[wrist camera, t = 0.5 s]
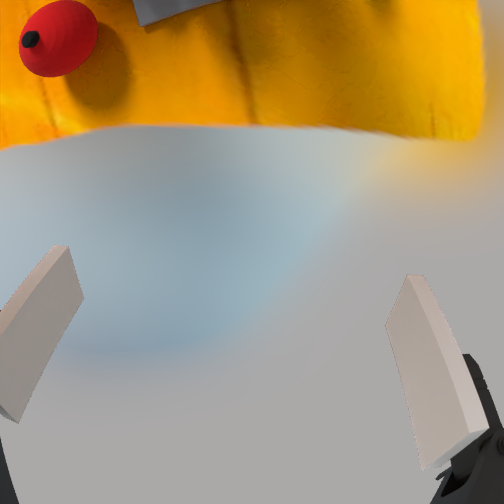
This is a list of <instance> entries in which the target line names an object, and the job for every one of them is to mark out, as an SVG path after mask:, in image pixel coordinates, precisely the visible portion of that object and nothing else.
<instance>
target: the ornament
mask: <svg viewBox="0 0 504 504" xmlns="http://www.w3.org/2000/svg"><path fill="white" fill-rule="evenodd" d="M97 35H98V27H97V21H96V18H95V16H94V14H93V13H92V11H91V10H90V9H89V8H88V7H87V6H86V5H84V4H82V3H80V2H77V1H73V0H59V1H56V2H53V3H50V4H47V5H45V6H44V7H42V8H41V9H39V10H38V11H37V12H35V13H34V14H33V15H32V16H31V17H30V19H29V20H28V22H27V23H26V25H25V26H24V28H23V30H22V32H21V35H20V40H19V53H20V57H21V60H22V62H23V64H24V65H25V66H26V67H27V69H29V70H30V71H31V72H32V73H34V74H36V75H39V76H43V77H57V76H62V75H65V74H67V73H70V72H71V71H73V70H75V69H76V68H78V67H79V66H80V65H81V64H82V63H83V62H85V60H86V59H87V58H88V57H89V55H90V53H91V52H92V50H93V48H94V46H95V43H96V40H97Z"/></svg>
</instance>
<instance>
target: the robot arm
mask: <svg viewBox="0 0 504 504" xmlns="http://www.w3.org/2000/svg"><path fill="white" fill-rule="evenodd" d="M83 300H84V296H83V293H82V290H81V287H80V284H79V280H78V277H77V274H76V271H75V267H74V264H73V260H72V257H71V254H70V250H69V247H68V246H60V245H54V246H53V247H52V248H51V250H49V252H48V253H47V254H46V255H45V256H44V257H43V258H42V260H41V261H40V262H39V263H38V264H37V265H36V267H35V268H34V269H33V270H32V271H31V273H30V274H29V275H28V276H27V278H26V279H25V280H24V281H23V283H22V284H21V285H20V286H19V288H18V289H17V290H16V292H15V293H14V294H13V295H12V297H11V298H10V299H9V301H8V302H7V303H6V305H5V306H4V307H3V309H2V310H0V414H1V415H2V416H4V417H5V418H7V419H9V420H11V421H13V422H16V423H18V424H19V421H20V419H21V417H22V415H23V412H24V410H25V408H26V406H27V404H28V402H29V399H30V397H31V395H32V393H33V391H34V389H35V387H36V385H37V383H38V381H39V379H40V377H41V375H42V373H43V371H44V369H45V367H46V365H47V363H48V361H49V359H50V358H51V356H52V354H53V352H54V350H55V348H56V346H57V345H58V343H59V341H60V339H61V337H62V336H63V334H64V332H65V330H66V329H67V327H68V325H69V323H70V322H71V320H72V318H73V316H74V315H75V313H76V311H77V310H78V308H79V306H80V305H81V303H82V301H83ZM385 327H386V330H387V333H388V336H389V339H390V343H391V346H392V350H393V353H394V357H395V360H396V364H397V367H398V371H399V374H400V378H401V382H402V385H403V389H404V393H405V397H406V401H407V405H408V409H409V413H410V418H411V422H412V427H413V431H414V435H415V440H416V445H417V450H418V455H419V460H420V466H421V470H426V469H432V468H436V467H440V466H442V465H443V464H444V463H446V462H447V461H449V460H451V465H452V466H451V467H449V468H448V469H447V470H445V471H443V472H442V473H440V474H439V475H438V476H437V478H436V480H439V479H441V478H442V477H444V478H443V480H442V481H441V484H440V486H439V488H438V490H437V492H436V494H435V496H434V497H433V499H432V501H431V503H430V504H504V428H503V427H502V424H501V422H500V419H499V416H498V413H497V411H496V408H495V405H494V402H493V400H492V397H491V395H490V392H489V390H487V384H486V382H485V380H483V375H482V372H481V370H480V368H479V365H478V364H477V363H476V361H475V360H474V359H473V358H472V357H471V355H470V354H462V353H461V351H460V349H459V347H458V344H457V342H456V340H455V338H454V335H453V333H452V331H451V329H450V327H449V325H448V323H447V321H446V319H445V316H444V315H443V312H442V310H441V308H440V306H439V304H438V302H437V300H436V298H435V296H434V294H433V293H432V290H431V289H430V287H429V285H428V283H427V281H426V279H425V277H424V276H422V275H407V276H406V279H405V281H404V283H403V286H402V289H401V291H400V293H399V296H398V298H397V300H396V303H395V305H394V307H393V309H392V312H391V314H390V316H389V318H388V321H387V323H386V325H385ZM0 504H19V502H18V499H17V496H16V493H15V490H14V487H13V484H12V481H11V477H10V474H9V471H8V467H7V463H6V459H5V456H4V452H3V448H2V443H1V439H0Z"/></svg>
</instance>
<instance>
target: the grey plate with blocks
mask: <svg viewBox="0 0 504 504" xmlns="http://www.w3.org/2000/svg"><path fill="white" fill-rule="evenodd" d="M219 1H222V0H133V4H134V8H135V11H136V15H137V18H138V22H139V25H140V27H145V26H148V25H150V24H153V23H155V22H158V21H160V20H163V19H166V18H168V17H171V16H174V15H177V14H180V13H183V12H186V11H189V10H192V9H195V8H198V7H201V6H205V5H208V4H212V3H215V2H219Z"/></svg>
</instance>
